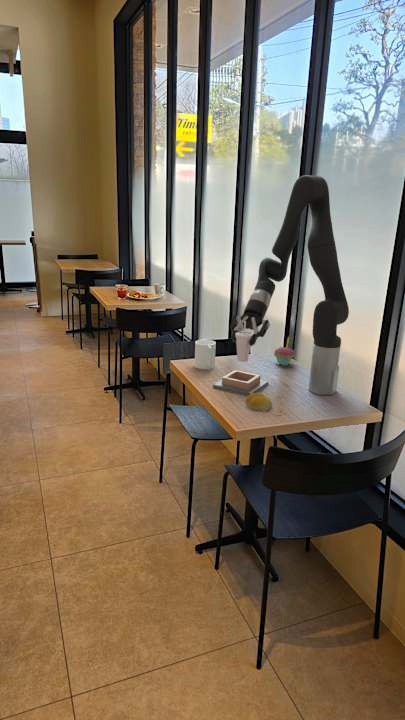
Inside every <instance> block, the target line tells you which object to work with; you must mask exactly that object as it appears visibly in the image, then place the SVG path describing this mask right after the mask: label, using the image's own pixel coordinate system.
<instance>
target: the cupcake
mask: <svg viewBox="0 0 405 720" xmlns="http://www.w3.org/2000/svg"><path fill="white" fill-rule="evenodd" d="M289 342H290V336H288V337H287V340H286V345H285V346H286V347H284V346H281V347H278V348H276V349H275V350H274V352H273V356H274V357H275V358H276V361H277V362H276V363H277V364H278V363H279V364H282V365H281V366H289V365H290V363H291V361H292V359H293V358H294V357H295V351H294V350H293V349H292V348H290V347H289ZM279 364H278V365H279ZM288 364H289V365H288Z"/></svg>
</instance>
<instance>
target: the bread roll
mask: <svg viewBox="0 0 405 720" xmlns="http://www.w3.org/2000/svg"><path fill="white" fill-rule="evenodd" d="M245 404H246V405H247V407H249V408H250V409H251V410H254V411H260V412H261V411H262V412H263V411H268V410H270V409H271V408H272V406H273V401H272V399H270V398H269V397H268V396H267V395H265V394H264V393H262V392H257V393H252V394H250V395H249V396H246V397H245Z"/></svg>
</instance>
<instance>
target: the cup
mask: <svg viewBox="0 0 405 720" xmlns="http://www.w3.org/2000/svg"><path fill="white" fill-rule="evenodd" d="M194 343H195V345H194V346H195V347H194V348H195V349H194V367H195V368H196V369H199V370H200V369H201V370H212V369H214V368H215V367H216V347H217V346H216V345H217V344H216V341H214V340H210V339H198V340H196V341H195V342H194Z"/></svg>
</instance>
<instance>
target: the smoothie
mask: <svg viewBox="0 0 405 720" xmlns="http://www.w3.org/2000/svg"><path fill="white" fill-rule="evenodd" d="M246 330H247V329H246V321H244V330H243V331H241V332H237V333H236V334H235V337H236V341H235V343H236V357H237V359H236V360H237V362H238V361H239V362H242V363H243V362H244V363H245V362H248V360H249V356H250V351H251V347H252V346H250V344H249V342H250V339H251V337H252V335H253V334H254V333H252V332H249V331H246Z"/></svg>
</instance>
